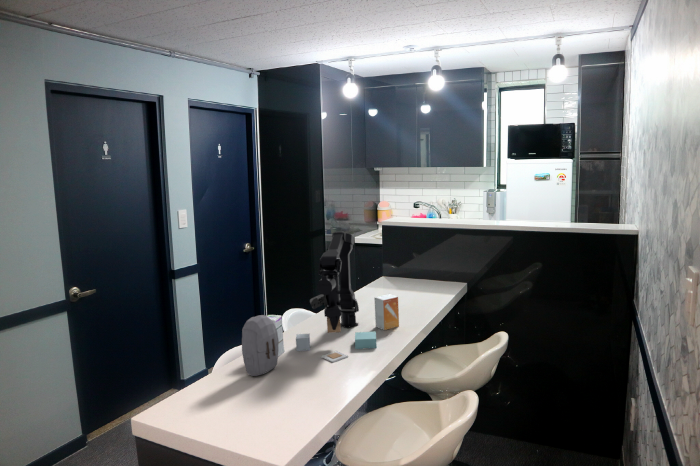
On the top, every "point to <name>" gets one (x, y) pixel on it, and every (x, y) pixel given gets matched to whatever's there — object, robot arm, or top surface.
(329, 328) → the walnut cube
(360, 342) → the teal base block
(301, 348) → the grey cube
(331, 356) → the tile
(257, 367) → the soft grey pack
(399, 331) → the top surface
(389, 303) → the small box
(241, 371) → the top surface
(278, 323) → the syrup box
